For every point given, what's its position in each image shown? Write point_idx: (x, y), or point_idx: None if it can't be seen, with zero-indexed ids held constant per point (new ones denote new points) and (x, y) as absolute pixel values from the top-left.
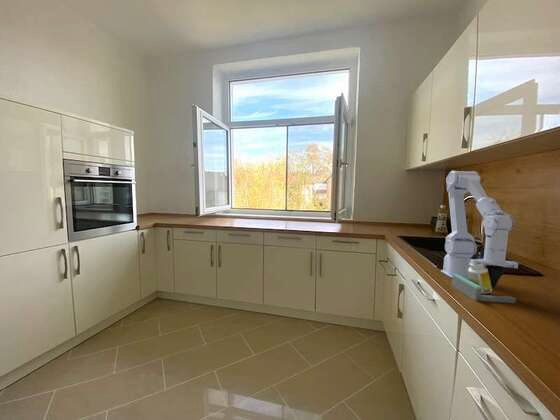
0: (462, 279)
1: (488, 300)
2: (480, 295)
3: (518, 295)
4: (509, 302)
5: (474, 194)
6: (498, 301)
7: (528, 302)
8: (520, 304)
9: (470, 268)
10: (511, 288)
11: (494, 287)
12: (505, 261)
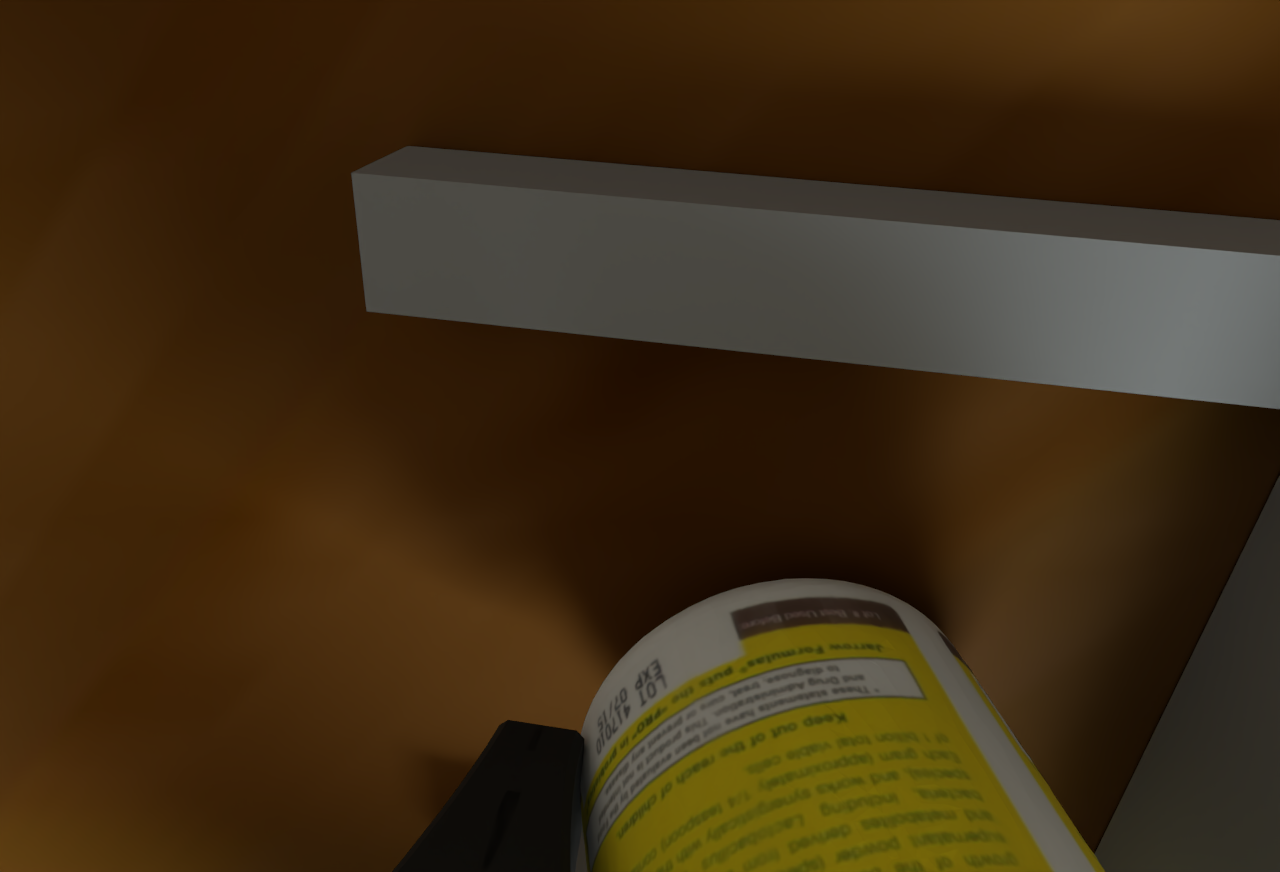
0: None
1: (1148, 217)
2: None
3: (51, 552)
4: (544, 163)
5: None
6: (846, 189)
7: (35, 218)
8: (312, 74)
9: None
10: (11, 794)
11: (517, 723)
12: None
